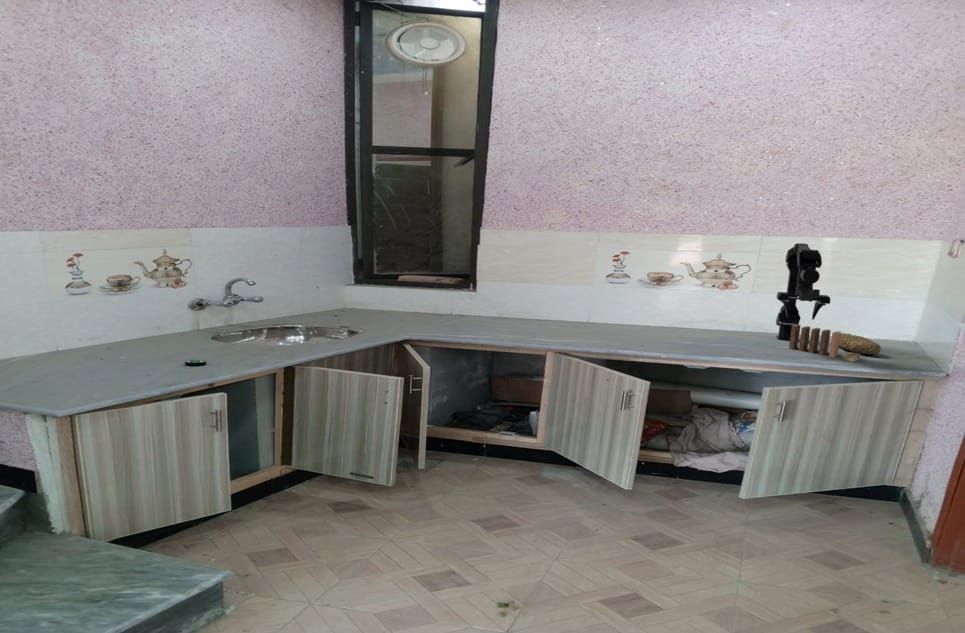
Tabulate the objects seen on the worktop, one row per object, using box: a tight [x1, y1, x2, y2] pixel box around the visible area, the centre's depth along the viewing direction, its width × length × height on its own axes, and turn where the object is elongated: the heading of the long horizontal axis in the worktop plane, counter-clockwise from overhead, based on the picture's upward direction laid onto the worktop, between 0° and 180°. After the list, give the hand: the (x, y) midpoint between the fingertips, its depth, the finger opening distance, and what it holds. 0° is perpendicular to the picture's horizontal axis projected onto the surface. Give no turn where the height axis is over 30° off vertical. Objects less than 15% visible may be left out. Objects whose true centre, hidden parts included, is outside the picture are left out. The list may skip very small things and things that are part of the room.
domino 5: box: [828, 330, 842, 358], centre depth 238 cm, size 2×5×10 cm, turn 131°
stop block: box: [841, 351, 861, 363], centre depth 235 cm, size 4×8×2 cm, turn 131°
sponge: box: [839, 332, 882, 355], centre depth 248 cm, size 13×8×20 cm
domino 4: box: [818, 328, 832, 356], centre depth 241 cm, size 2×5×10 cm, turn 131°
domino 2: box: [798, 325, 811, 352], centre depth 247 cm, size 2×5×10 cm, turn 131°
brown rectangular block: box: [788, 324, 801, 350], centre depth 250 cm, size 2×5×10 cm, turn 131°
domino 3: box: [808, 327, 821, 354], centre depth 244 cm, size 2×5×10 cm, turn 131°
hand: (800, 318), depth 240 cm, fingers open, 9 cm apart
